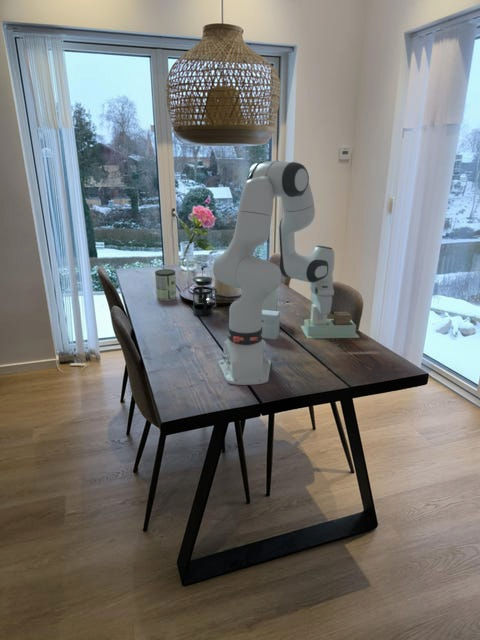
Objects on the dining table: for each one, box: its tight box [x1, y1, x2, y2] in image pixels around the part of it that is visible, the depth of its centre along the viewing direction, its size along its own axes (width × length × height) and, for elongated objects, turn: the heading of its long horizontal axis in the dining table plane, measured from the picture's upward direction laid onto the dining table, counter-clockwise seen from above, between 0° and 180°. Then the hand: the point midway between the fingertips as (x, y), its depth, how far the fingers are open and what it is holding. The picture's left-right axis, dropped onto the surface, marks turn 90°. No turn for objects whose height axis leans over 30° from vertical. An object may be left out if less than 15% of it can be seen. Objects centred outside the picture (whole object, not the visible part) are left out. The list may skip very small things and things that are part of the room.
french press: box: [192, 264, 218, 318], centre depth 203 cm, size 12×9×23 cm
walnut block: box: [333, 311, 352, 325], centre depth 184 cm, size 4×6×8 cm, turn 94°
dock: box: [300, 318, 361, 339], centre depth 184 cm, size 14×22×5 cm, turn 94°
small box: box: [261, 310, 281, 340], centre depth 180 cm, size 8×6×10 cm
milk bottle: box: [262, 290, 278, 311], centre depth 195 cm, size 8×8×20 cm
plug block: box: [310, 303, 328, 325], centre depth 182 cm, size 4×6×10 cm, turn 94°
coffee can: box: [154, 268, 177, 302], centre depth 226 cm, size 10×10×14 cm
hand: (318, 317), depth 182 cm, fingers closed on plug block, 4 cm apart
